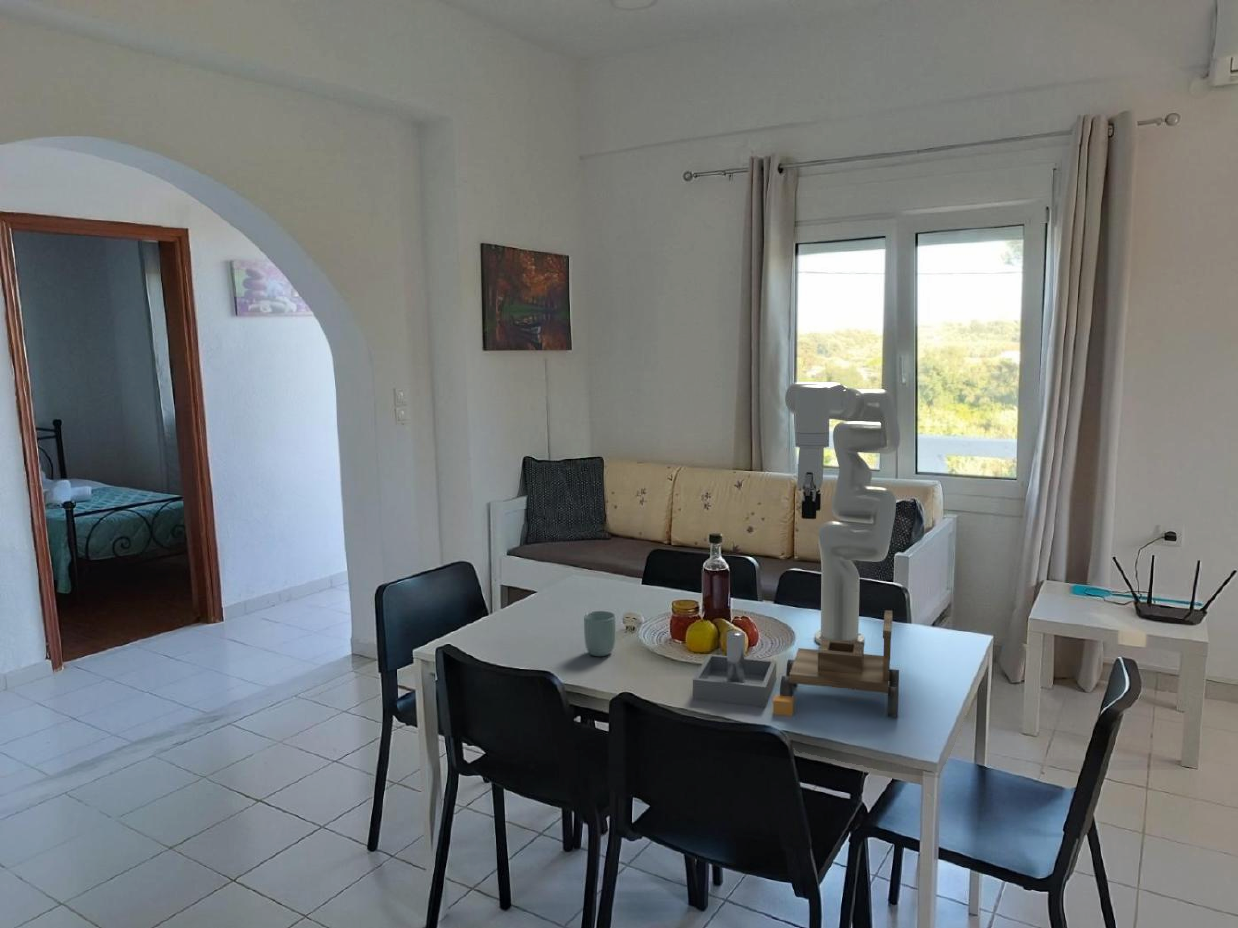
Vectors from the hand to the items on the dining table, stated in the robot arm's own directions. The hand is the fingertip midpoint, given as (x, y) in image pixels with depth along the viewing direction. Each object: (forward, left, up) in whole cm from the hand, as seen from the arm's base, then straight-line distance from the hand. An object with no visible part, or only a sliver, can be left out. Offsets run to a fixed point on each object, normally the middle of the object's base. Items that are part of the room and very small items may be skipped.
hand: (811, 514), depth 200 cm
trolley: (+13, +8, -38) cm, 41 cm away
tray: (+13, -15, -38) cm, 43 cm away
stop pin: (+13, -15, -37) cm, 42 cm away
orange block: (+23, -3, -38) cm, 45 cm away
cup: (0, -52, -38) cm, 65 cm away
